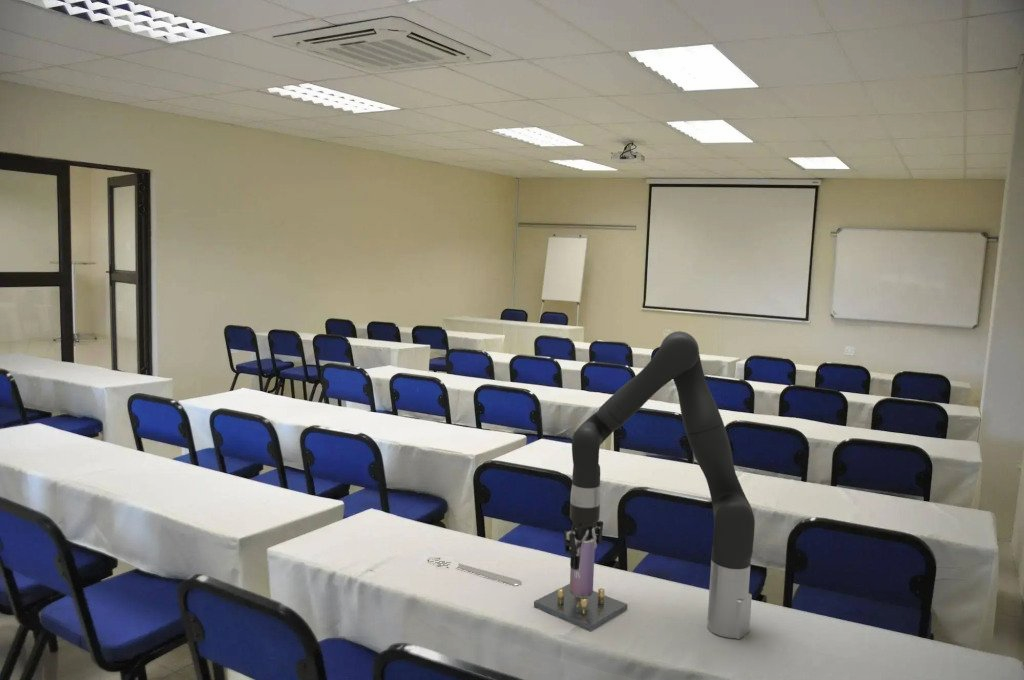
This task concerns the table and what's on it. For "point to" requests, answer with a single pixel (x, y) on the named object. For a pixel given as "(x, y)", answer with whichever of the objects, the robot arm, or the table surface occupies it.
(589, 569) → the beverage can
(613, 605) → the chassis plate
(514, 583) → the wrench
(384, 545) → the table surface
